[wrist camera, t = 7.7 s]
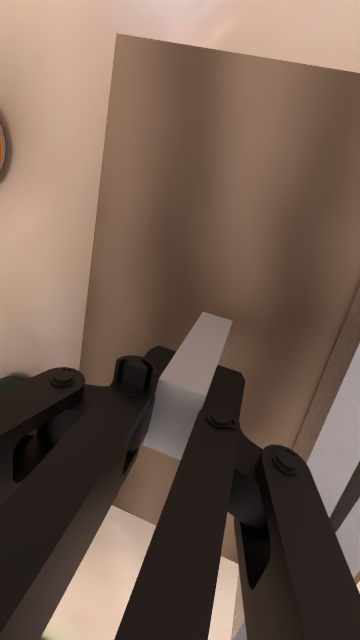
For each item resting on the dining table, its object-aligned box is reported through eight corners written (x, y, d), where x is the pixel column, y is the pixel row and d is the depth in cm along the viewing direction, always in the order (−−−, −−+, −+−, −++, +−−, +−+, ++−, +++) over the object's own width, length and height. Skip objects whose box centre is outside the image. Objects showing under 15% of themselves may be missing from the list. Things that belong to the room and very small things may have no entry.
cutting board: (77, 469, 28) (66, 483, 26) (130, 47, 16) (116, 33, 14) (333, 586, 24) (336, 609, 22) (666, 140, 12) (717, 132, 10)
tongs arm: (290, 538, 21) (292, 587, 18) (261, 526, 21) (258, 573, 19) (487, 124, 12) (548, 102, 9) (427, 117, 12) (469, 93, 9)
